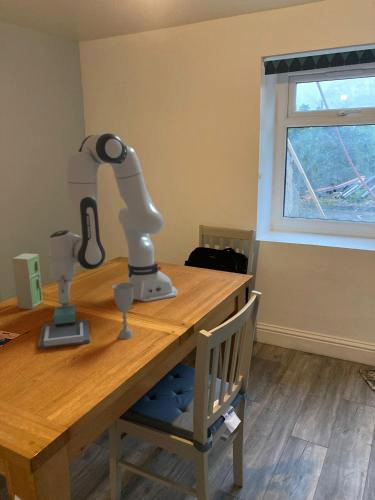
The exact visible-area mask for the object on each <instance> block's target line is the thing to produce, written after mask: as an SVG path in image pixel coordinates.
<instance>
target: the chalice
mask: <svg viewBox="0 0 375 500" xmlns="http://www.w3.org/2000/svg"><path fill="white" fill-rule="evenodd" d="M133 287H134V284H133V283H128V282H118V283H116V284H115V283H114V284H113V285H112V289H113V295H114V297H113V298H114V303H115V305H116V306H117V309H118V310H119V312H120V313H122V324H123V325H122V326H123V327H122V328H121V329H120V330H119V333H118V335H117V337H118V339H121V340H126V339H127V340H128V339H131V338H132V337H134V334H133V333H132V330H131V329H130V328H129V327H128V326H127V324H128V321H127V319H128V316H127V313H128V312H129V311H130V309H131V307H132V304H133V301H134V299H133Z"/></svg>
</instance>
